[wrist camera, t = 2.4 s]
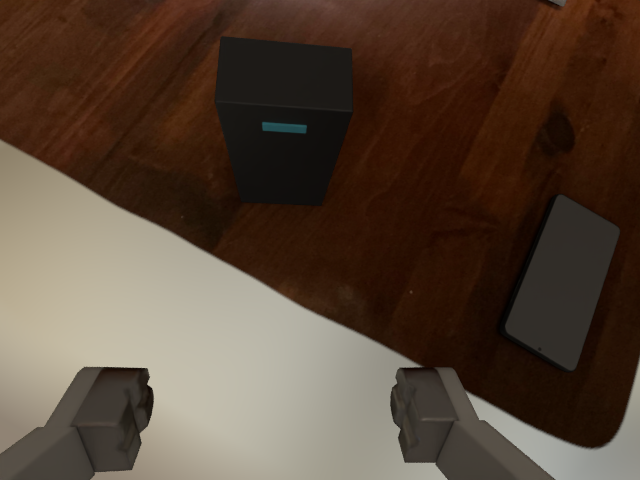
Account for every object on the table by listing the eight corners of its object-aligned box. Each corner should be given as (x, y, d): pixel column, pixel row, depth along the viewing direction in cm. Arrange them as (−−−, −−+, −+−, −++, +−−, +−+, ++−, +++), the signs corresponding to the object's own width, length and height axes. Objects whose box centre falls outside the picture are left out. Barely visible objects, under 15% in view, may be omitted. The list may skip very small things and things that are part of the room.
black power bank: (321, 207, 32) (353, 114, 19) (241, 203, 31) (213, 104, 18) (321, 163, 33) (352, 45, 20) (244, 158, 32) (220, 32, 19)
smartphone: (622, 227, 34) (574, 375, 30) (614, 230, 35) (566, 374, 30) (558, 190, 34) (501, 331, 30) (551, 194, 35) (494, 331, 31)
